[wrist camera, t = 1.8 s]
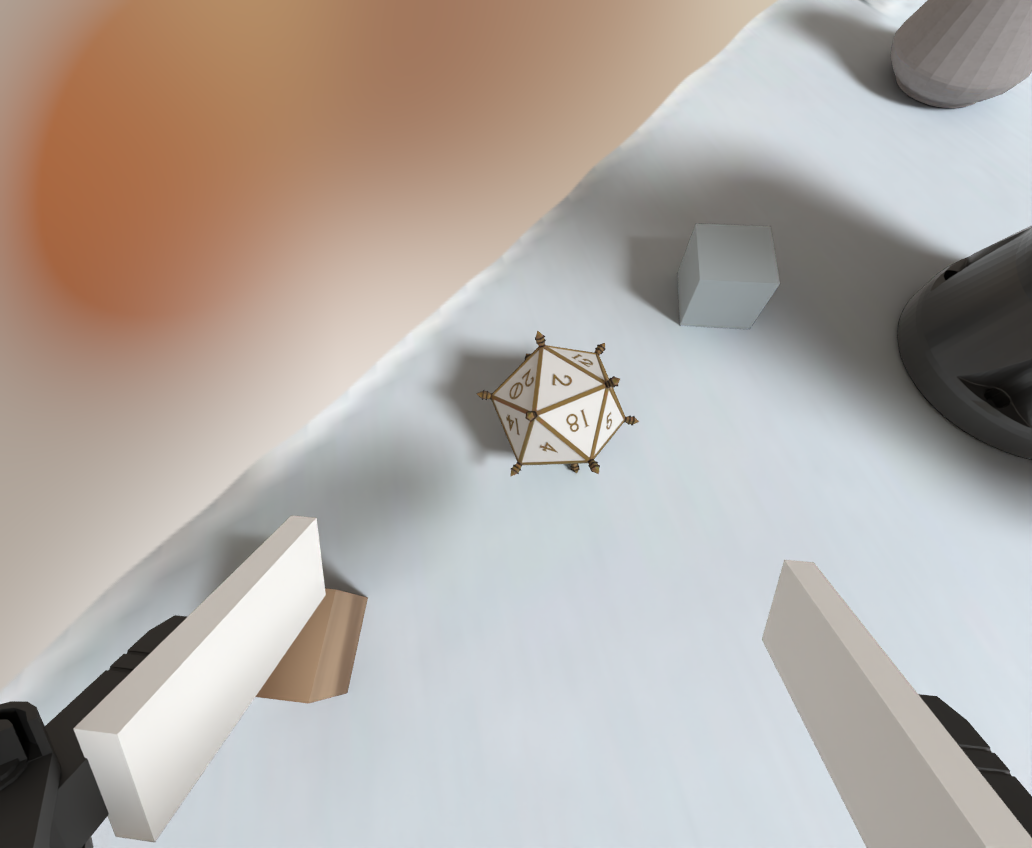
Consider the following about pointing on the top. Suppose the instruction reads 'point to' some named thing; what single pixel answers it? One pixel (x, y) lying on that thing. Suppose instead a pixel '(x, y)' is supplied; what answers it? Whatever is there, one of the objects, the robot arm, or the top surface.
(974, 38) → the coffee pot
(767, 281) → the light grey cube
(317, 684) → the walnut block
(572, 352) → the game die
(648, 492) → the top surface
